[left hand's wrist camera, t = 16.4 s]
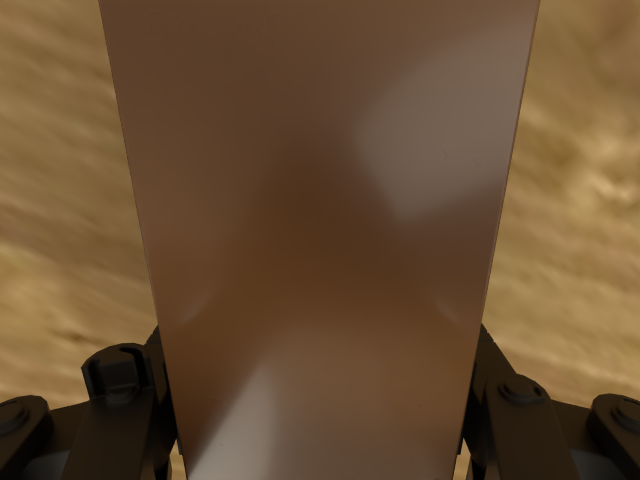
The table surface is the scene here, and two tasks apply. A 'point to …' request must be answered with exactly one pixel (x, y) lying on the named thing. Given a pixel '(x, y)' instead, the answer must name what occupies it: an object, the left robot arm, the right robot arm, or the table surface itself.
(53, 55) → the table surface
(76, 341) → the table surface
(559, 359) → the table surface
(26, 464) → the left robot arm
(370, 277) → the beam
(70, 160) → the table surface
